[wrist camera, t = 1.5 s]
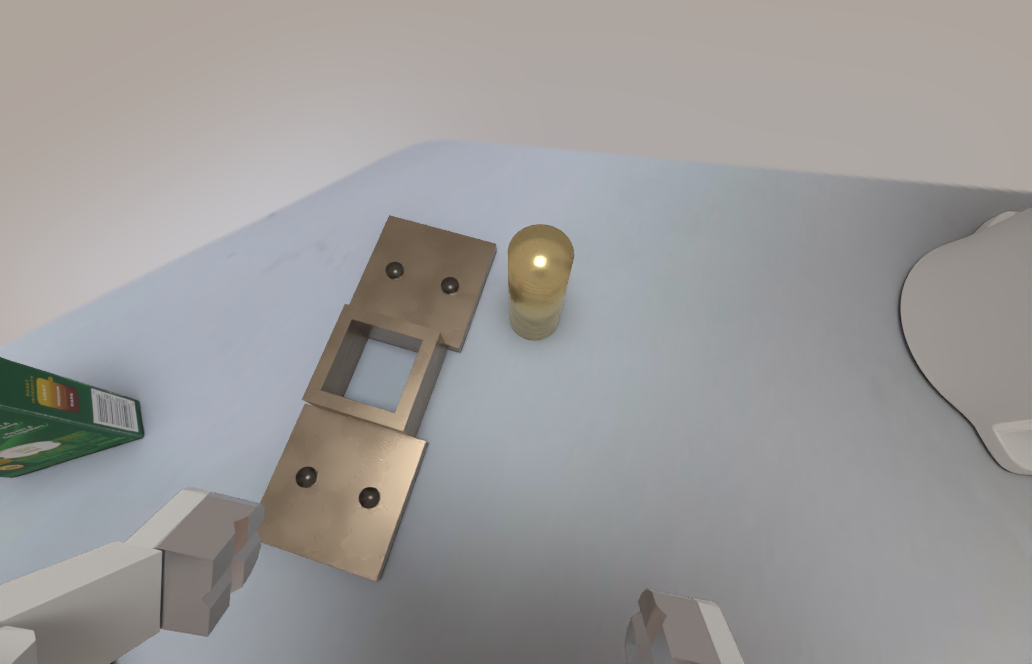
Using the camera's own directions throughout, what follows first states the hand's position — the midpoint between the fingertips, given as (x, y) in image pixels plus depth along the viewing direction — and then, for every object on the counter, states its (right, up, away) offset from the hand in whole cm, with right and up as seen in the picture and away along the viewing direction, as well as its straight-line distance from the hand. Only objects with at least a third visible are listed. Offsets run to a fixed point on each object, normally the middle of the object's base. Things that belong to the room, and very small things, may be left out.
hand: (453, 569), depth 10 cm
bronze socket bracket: (-7, +2, +22) cm, 23 cm away
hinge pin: (+3, +6, +23) cm, 24 cm away
